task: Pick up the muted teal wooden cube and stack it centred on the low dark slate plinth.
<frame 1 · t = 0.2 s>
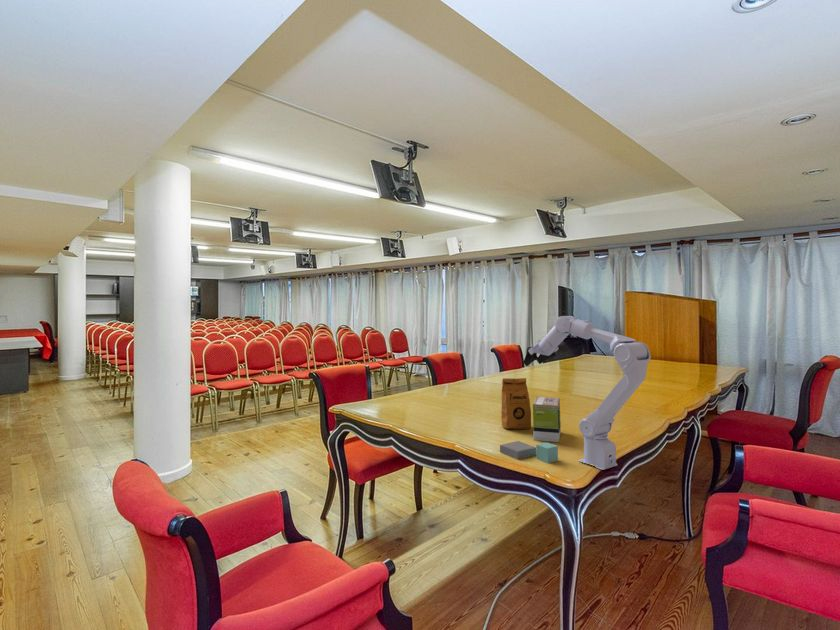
hand: (531, 362, 160), 31 cm above the table, tool tilted 45°, fingers open, 7 cm apart
coffee package: (516, 428, 181), on the table
slate plinth: (517, 453, 148), on the table
tea box: (547, 436, 168), on the table
teal cube: (547, 459, 141), on the table
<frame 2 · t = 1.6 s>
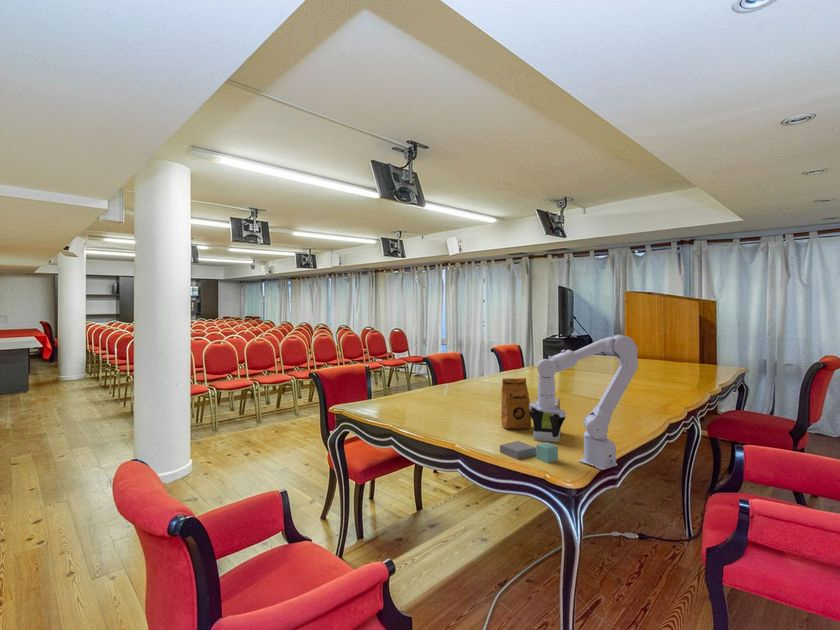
hand: (546, 433, 141), 9 cm above the table, tool pointing down, fingers open, 7 cm apart
nothing on the table moved.
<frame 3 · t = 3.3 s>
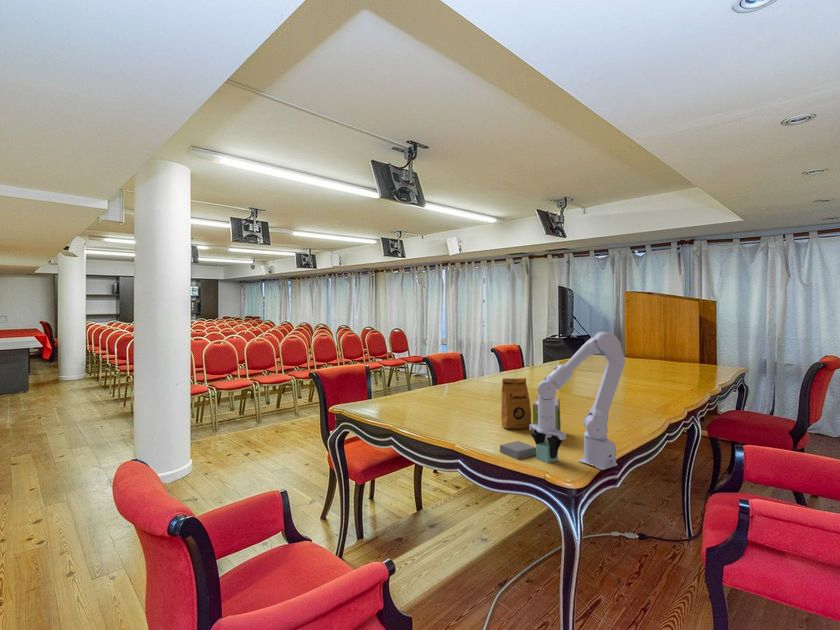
hand: (547, 455, 141), 1 cm above the table, tool pointing down, fingers closed on teal cube, 5 cm apart
teal cube: (547, 459, 141), on the table, touching gripper
everything else where it was.
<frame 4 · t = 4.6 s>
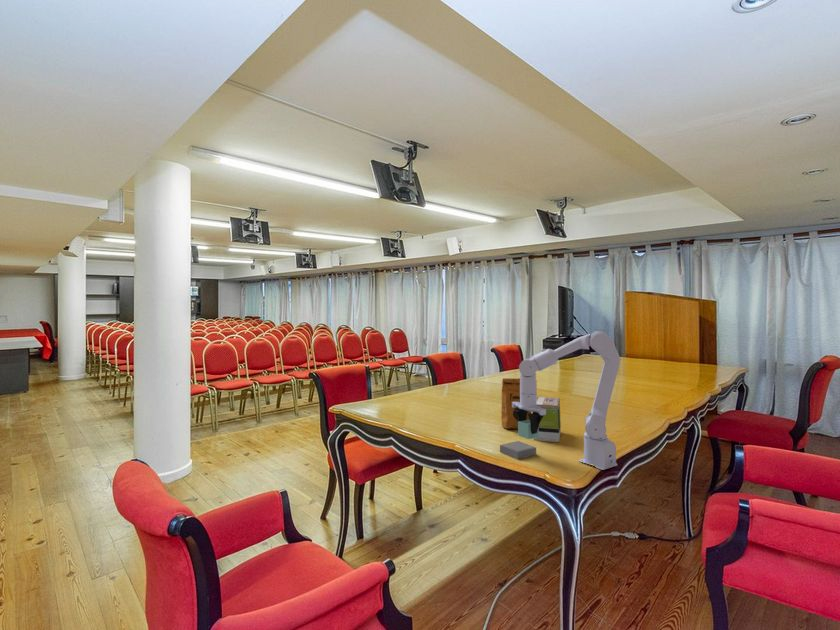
hand: (528, 431, 145), 9 cm above the table, tool pointing down, fingers closed on teal cube, 5 cm apart
teal cube: (528, 436, 145), point 7 cm above the table, touching gripper
everything else where it was.
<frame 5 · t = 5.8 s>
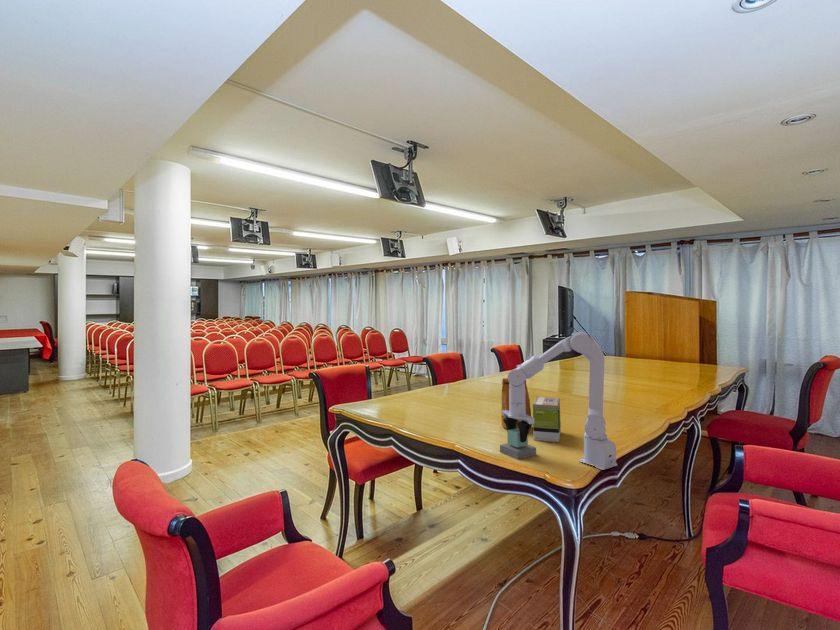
hand: (517, 439, 148), 5 cm above the table, tool pointing down, fingers closed on teal cube, 5 cm apart
teal cube: (517, 444, 148), point 3 cm above the table, touching gripper
everything else where it was.
when the fingers open (5 cm above the table, at t = 6.4 s): teal cube stays where it is, resting on slate plinth.
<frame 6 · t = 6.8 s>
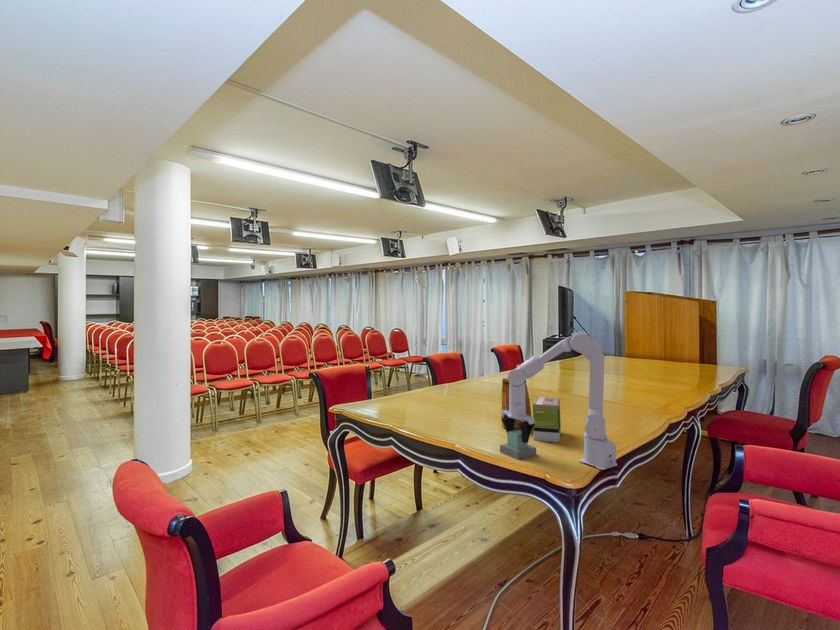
hand: (517, 439, 148), 5 cm above the table, tool pointing down, fingers open, 7 cm apart
teal cube: (517, 446, 148), point 3 cm above the table, touching slate plinth
everything else where it was.
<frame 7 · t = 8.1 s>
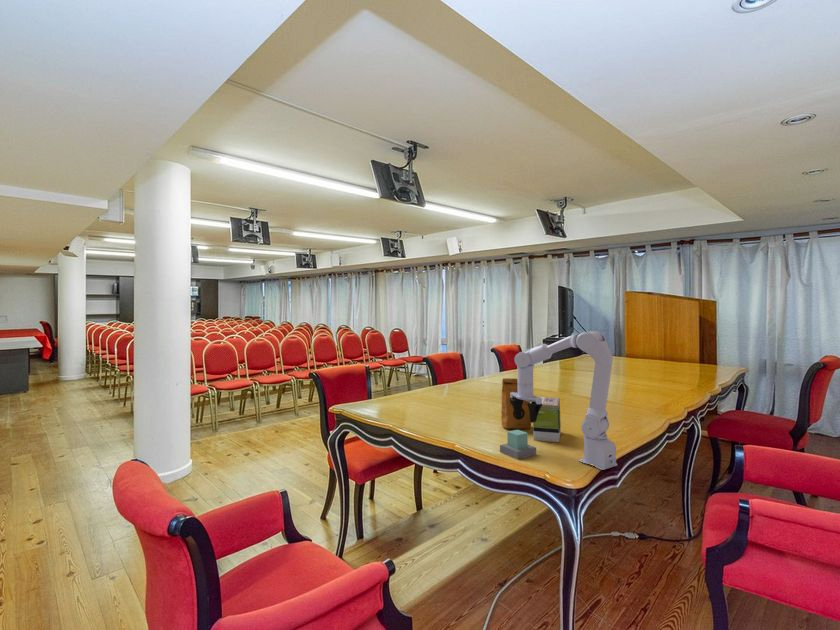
hand: (525, 419, 154), 10 cm above the table, tool pointing down, fingers open, 7 cm apart
nothing on the table moved.
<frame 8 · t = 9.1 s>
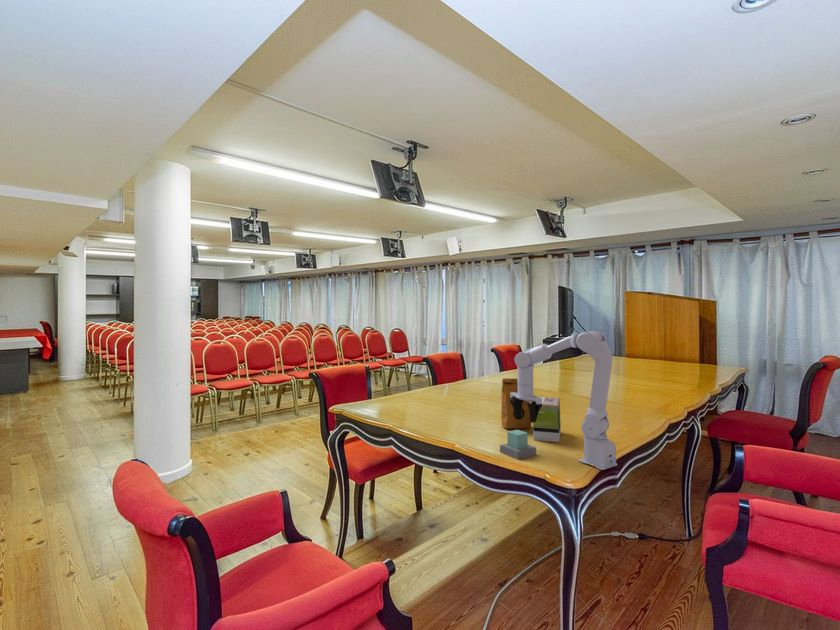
hand: (525, 419, 154), 10 cm above the table, tool pointing down, fingers open, 7 cm apart
nothing on the table moved.
at the end: teal cube inside the target area on the slate plinth (0.1 cm from its centre), point 2.5 cm above the slate plinth's base; teal cube tilted 0°; the gripper is holding nothing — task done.
